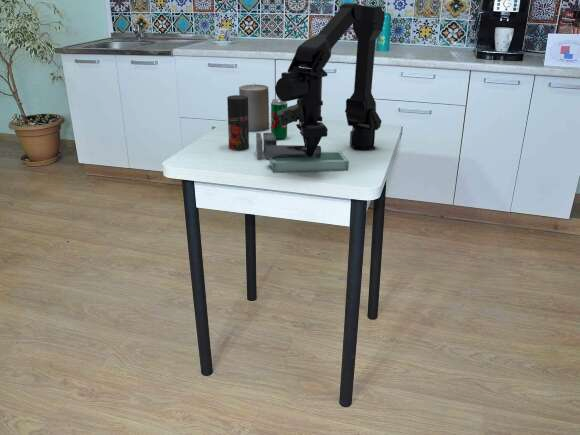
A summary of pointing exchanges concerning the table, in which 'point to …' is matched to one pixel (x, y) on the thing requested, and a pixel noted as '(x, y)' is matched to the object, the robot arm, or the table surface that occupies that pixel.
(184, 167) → the table surface
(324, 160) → the tray
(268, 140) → the clevis
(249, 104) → the pillar candle
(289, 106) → the robot arm
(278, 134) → the soda can
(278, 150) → the dark grey cylinder
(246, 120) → the deodorant
